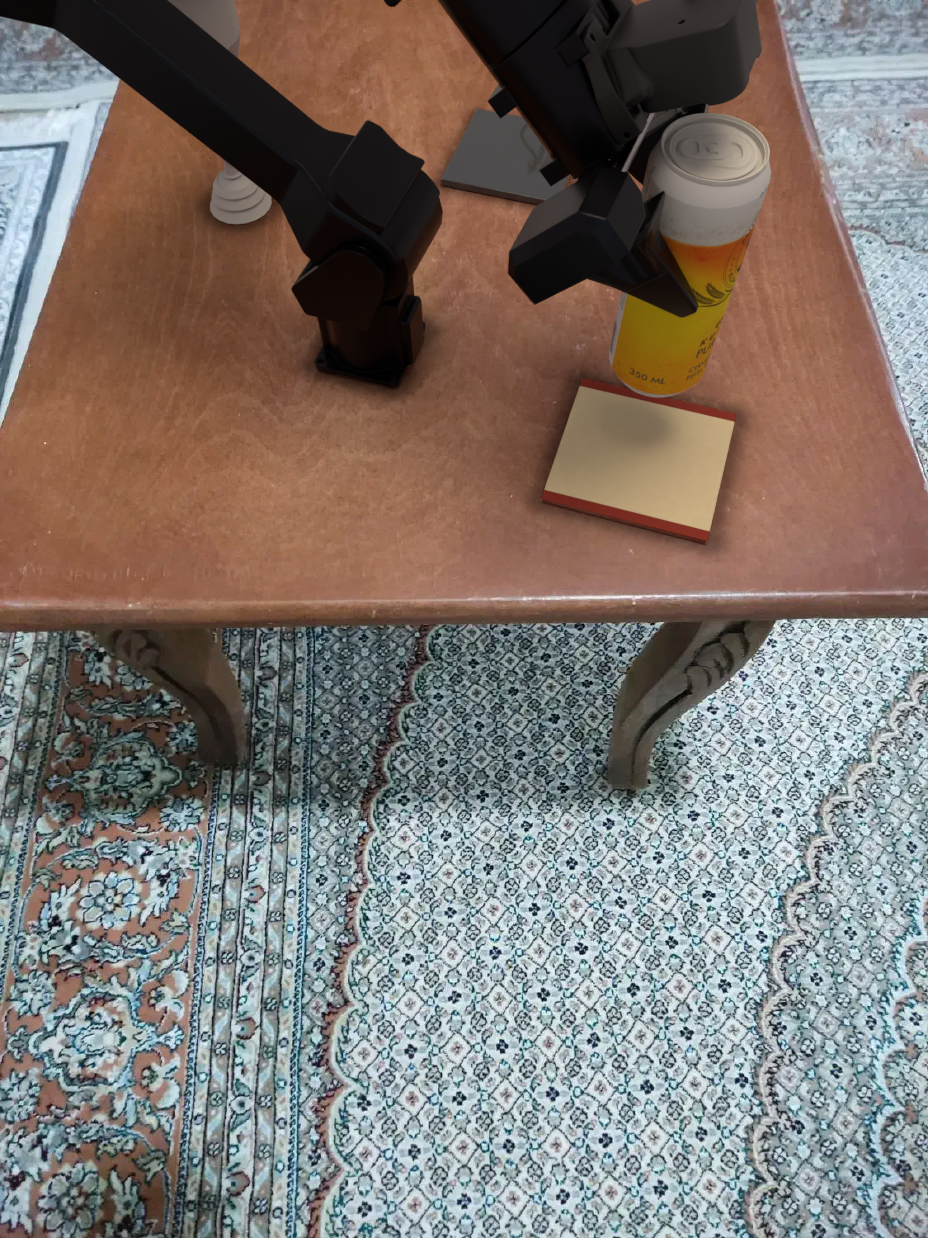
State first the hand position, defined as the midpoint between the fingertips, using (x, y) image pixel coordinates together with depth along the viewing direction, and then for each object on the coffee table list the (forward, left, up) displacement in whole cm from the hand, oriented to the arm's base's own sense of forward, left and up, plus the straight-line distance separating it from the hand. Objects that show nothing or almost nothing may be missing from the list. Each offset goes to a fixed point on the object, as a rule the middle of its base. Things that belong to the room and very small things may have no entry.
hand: (705, 275), depth 49 cm
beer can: (-1, 0, -8) cm, 8 cm away
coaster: (-18, +25, -13) cm, 34 cm away
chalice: (-38, +13, -13) cm, 42 cm away
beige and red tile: (-1, -3, -13) cm, 14 cm away
